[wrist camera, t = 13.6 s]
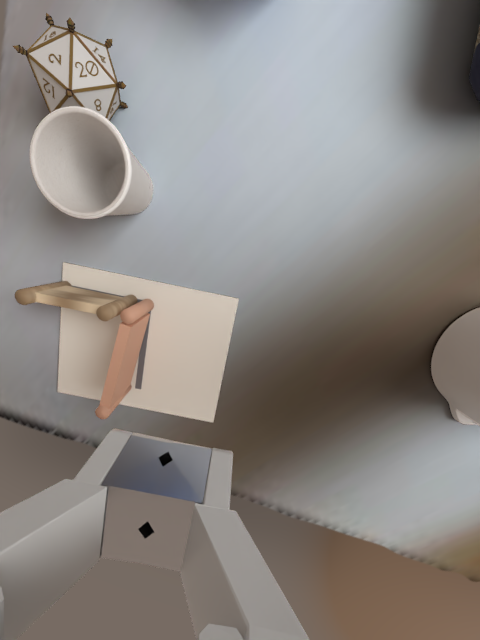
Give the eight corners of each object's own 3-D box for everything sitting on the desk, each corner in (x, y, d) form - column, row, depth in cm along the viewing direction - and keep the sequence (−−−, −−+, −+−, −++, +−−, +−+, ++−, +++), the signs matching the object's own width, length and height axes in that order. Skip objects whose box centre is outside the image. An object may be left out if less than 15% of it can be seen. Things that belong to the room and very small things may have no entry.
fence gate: (143, 296, 35) (121, 307, 29) (155, 300, 35) (136, 312, 29) (118, 389, 39) (94, 416, 32) (130, 392, 39) (107, 420, 32)
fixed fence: (139, 295, 36) (112, 307, 29) (137, 307, 36) (111, 322, 29) (60, 279, 35) (14, 287, 28) (60, 291, 36) (14, 303, 29)
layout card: (238, 298, 36) (238, 299, 35) (213, 420, 40) (213, 422, 40) (64, 262, 35) (62, 262, 34) (59, 390, 40) (57, 392, 39)
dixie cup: (106, 233, 34) (50, 228, 24) (83, 157, 32) (11, 119, 22) (173, 218, 33) (142, 206, 24) (153, 140, 31) (111, 92, 22)
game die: (118, 98, 34) (116, -11, 25) (137, 160, 32) (142, 70, 24) (28, 89, 30) (-13, -44, 21) (46, 159, 29) (10, 51, 20)
